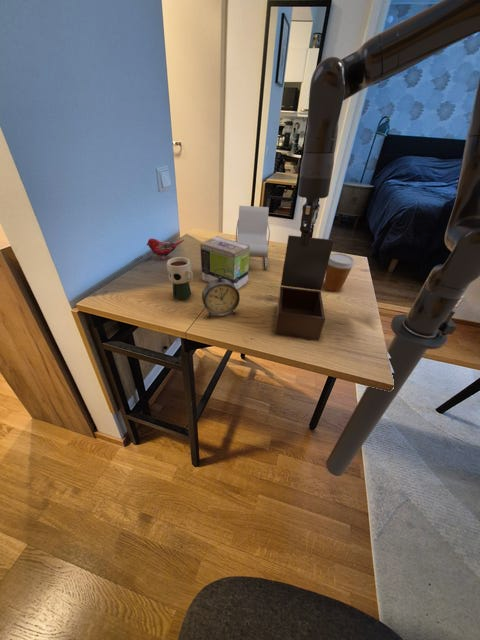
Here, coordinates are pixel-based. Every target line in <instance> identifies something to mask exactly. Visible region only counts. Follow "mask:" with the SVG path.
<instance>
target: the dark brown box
mask: <svg viewBox="0 0 480 640" xmlns="http://www.w3.org/2000/svg"><path fill="white" fill-rule="evenodd" d="M321 291H322V290H312V289H304V288H296V287H288V286H280V288H279V293H278V300H277V304H276V305H277V306H276V317H275V330H274V335H277V336H285V337H291V338H299V339H305V340H313V341H319V340H320V337H321V335H322V331H323V328H324V325H325V321H326V315H325V308H324V302H323V296H322V292H321Z"/></svg>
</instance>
